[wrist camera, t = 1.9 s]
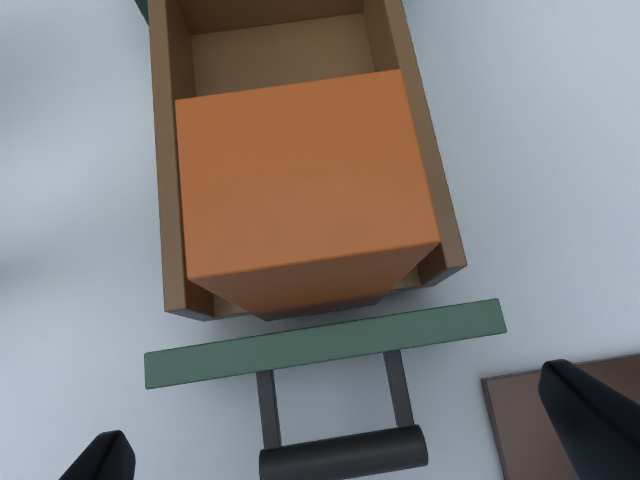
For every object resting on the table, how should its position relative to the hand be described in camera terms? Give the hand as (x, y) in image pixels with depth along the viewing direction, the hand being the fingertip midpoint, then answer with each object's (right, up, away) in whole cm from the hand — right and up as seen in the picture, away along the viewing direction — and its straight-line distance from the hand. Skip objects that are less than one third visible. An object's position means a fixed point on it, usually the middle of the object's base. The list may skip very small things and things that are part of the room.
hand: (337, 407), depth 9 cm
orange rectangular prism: (-1, +2, +10) cm, 11 cm away
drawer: (-1, +5, +12) cm, 13 cm away
